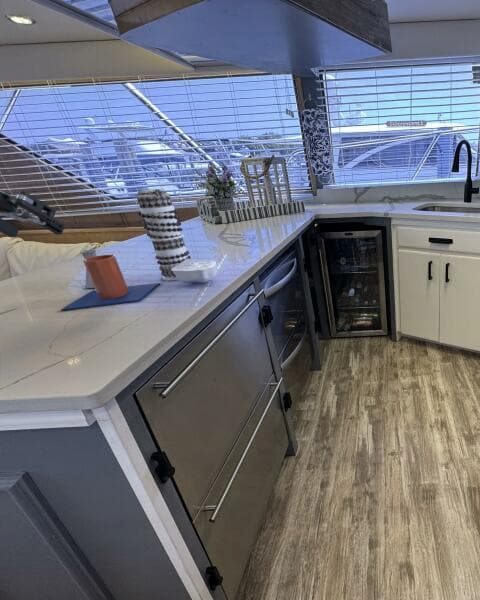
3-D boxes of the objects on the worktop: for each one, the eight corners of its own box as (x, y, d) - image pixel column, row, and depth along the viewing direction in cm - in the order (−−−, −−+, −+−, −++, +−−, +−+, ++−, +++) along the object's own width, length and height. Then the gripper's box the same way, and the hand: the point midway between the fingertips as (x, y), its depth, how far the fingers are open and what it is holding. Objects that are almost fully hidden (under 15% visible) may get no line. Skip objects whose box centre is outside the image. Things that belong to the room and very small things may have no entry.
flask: (94, 282, 95) (79, 249, 91) (122, 278, 97) (109, 246, 93) (80, 290, 89) (63, 255, 85) (111, 286, 91) (96, 252, 87)
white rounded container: (200, 290, 85) (193, 265, 83) (168, 286, 89) (160, 263, 86) (230, 277, 94) (224, 255, 91) (199, 274, 98) (193, 253, 95)
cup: (94, 300, 80) (77, 262, 76) (107, 292, 85) (91, 256, 81) (122, 297, 81) (106, 259, 77) (133, 289, 87) (119, 253, 83)
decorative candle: (188, 279, 94) (160, 190, 84) (154, 282, 93) (121, 191, 83) (202, 270, 102) (177, 187, 92) (171, 272, 101) (142, 189, 91)
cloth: (61, 310, 76) (60, 309, 76) (93, 291, 88) (92, 290, 87) (139, 301, 80) (138, 299, 80) (159, 284, 91) (159, 282, 91)
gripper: (-5, 154, 52) (81, 215, 67) (-104, 157, 51) (6, 218, 66) (-22, 190, 50) (71, 245, 65) (-127, 194, 48) (-7, 250, 63)
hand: (38, 232), depth 65 cm, fingers open, 8 cm apart
